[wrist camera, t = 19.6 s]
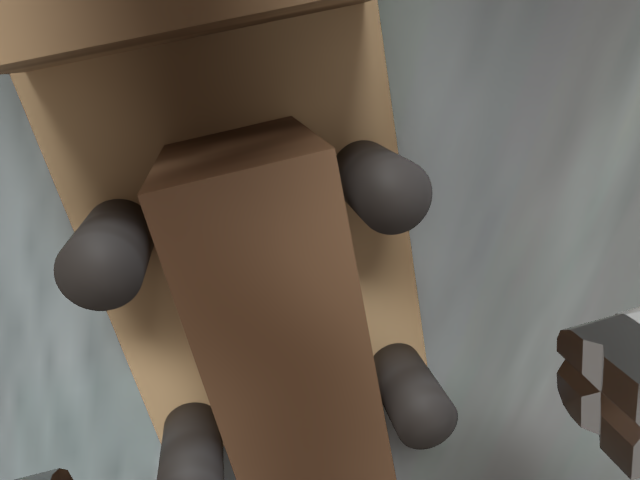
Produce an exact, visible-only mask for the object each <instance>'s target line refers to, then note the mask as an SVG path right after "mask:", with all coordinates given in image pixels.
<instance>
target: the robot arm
mask: <svg viewBox="0 0 640 480" xmlns="http://www.w3.org/2000/svg"><path fill="white" fill-rule="evenodd" d="M557 352H558V353H559V354H560V355H561V356H562V357H563V358H564V359H565V361H564V362H563V364H562V365H561V367H560V368H559V370H558V372H557V386H558V391H559V394H560V397H561V400H562V402H563V405H564V406H565V408H566V410H567V411H568V413H569V414H570V416H571V417H572V418H573V419H574V420H575V421H576V423H577V424H578V425H579V426H580V427H581V428H584V429H586V430H589V431H591V432H594V433H596V434H599V440H600V448H601V449H602V450H603V451H604V452H605V453H606V454H607V455H608V456H609V457H610V459H611V460H612V461H613V462H614V463H615V464H616V465H617V466H618V467H619V468H620V469H621V470H622V471H623V472H624V473H625V474H626V475H627V476H628V477H629V478H630V479H631V480H633V479H637V478H640V307H637V308H634V309H630V310H627V311H624V312H620V313H617V314H615V315H613V316H609V317H606V318H602V319H599V320H595V321H591V322H588V323H584V324H581V325H577V326H574V327H570V328H567V329H563V330H561V331H560V333H559V335H558V338H557ZM15 480H73V479H72V477H71V475H70V474H69V472H68V470H65V469H60V468H58V469H54V470H50V471H47V472H43V473H39V474H35V475H31V476H27V477H23V478H19V479H15Z"/></svg>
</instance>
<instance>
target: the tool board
mask: <svg viewBox="0 0 640 480" xmlns="http://www.w3.org/2000/svg"><path fill="white" fill-rule="evenodd" d="M0 74H10V76H11V79H12V81H13V84H14V86H15V88H16V91H17V93H18V96H19V98H20V101H21V103H22V106H23V108H24V110H25V113H26V115H27V118H28V120H29V123H30V125H31V128H32V130H33V132H34V135H35V137H36V140H37V142H38V145H39V147H40V149H41V152H42V154H43V157H44V159H45V162H46V164H47V167H48V169H49V171H50V174H51V176H52V179H53V181H54V184H55V186H56V189H57V191H58V193H59V196H60V198H61V201H62V203H63V206H64V208H65V211H66V213H67V215H68V218H69V220H70V223H71V225H72V228H73V230H74V234H73V235H72V236H71V238H70V239H69V240H68V241H67V243H66V244H65V245H64V247H63V248H62V249H61V250H60V252H59V254H58V255H57V258H56V260H55V264H54V277H55V281H56V284H57V286H58V288H59V289H60V291H61V292H62V294H63V295H64V296H65V297H66V298H67V299H69V300H70V301H71V302H73V303H74V304H76V305H78V306H80V307H83V308H85V309H89V310H95V311H107V313H108V316H109V318H110V320H111V323H112V325H113V328H114V330H115V333H116V335H117V338H118V340H119V342H120V345H121V347H122V350H123V352H124V355H125V357H126V360H127V362H128V364H129V367H130V369H131V372H132V374H133V377H134V379H135V382H136V384H137V386H138V389H139V391H140V394H141V396H142V399H143V401H144V404H145V406H146V408H147V411H148V413H149V416H150V418H151V421H152V423H153V426H154V428H155V430H156V433H157V435H158V438H159V440H160V443H161V452H160V460H159V467H158V475H157V480H224V464H223V447H224V443H223V440H222V437H221V434H220V432H219V429H218V426H217V423H216V420H215V417H214V414H213V412H212V409H211V406H210V403H209V400H208V397H207V394H206V391H205V389H204V386H203V383H202V380H201V377H200V374H199V371H198V369H197V366H196V363H195V360H194V357H193V354H192V351H191V348H190V346H189V343H188V340H187V337H186V334H185V331H184V328H183V326H182V323H181V320H180V317H179V314H178V311H177V308H176V305H175V303H174V300H173V297H172V294H171V291H170V288H169V285H168V283H167V280H166V277H165V274H164V271H163V268H162V265H161V262H160V260H159V257H158V254H157V251H156V248H155V245H154V242H153V240H152V237H151V234H150V231H149V228H148V225H147V222H146V220H145V217H144V214H143V211H142V208H141V205H140V202H139V199H138V197H137V195H138V193H139V191H140V189H141V187H142V185H143V183H144V182H145V180H146V178H147V176H148V174H149V172H150V170H151V169H152V167H153V165H154V163H155V161H156V159H157V157H158V156H159V154H160V152H161V150H162V148H163V146H164V145H167V144H171V143H175V142H180V141H184V140H188V139H193V138H197V137H201V136H206V135H210V134H214V133H219V132H223V131H228V130H232V129H236V128H241V127H245V126H249V125H254V124H258V123H262V122H267V121H271V120H275V119H280V118H284V117H288V116H293V117H294V118H295V119H297V120H298V121H299V122H301V123H302V124H303V125H305V126H306V127H307V128H309V129H310V130H311V131H313V132H314V133H315V134H317V135H318V136H319V137H321V138H322V139H323V140H325V141H326V142H328V143H329V144H330V145H332V146H333V147H334V148H335V151H336V157H337V162H338V167H339V173H340V178H341V184H342V189H343V194H344V200H345V205H346V211H347V216H348V221H349V227H350V232H351V238H352V243H353V248H354V254H355V259H356V265H357V270H358V275H359V281H360V286H361V292H362V297H363V302H364V308H365V313H366V319H367V324H368V329H369V335H370V340H371V346H372V351H373V356H374V362H375V367H376V373H377V378H378V383H379V389H380V394H381V400H382V404H383V406H384V408H385V410H386V412H387V414H388V416H389V418H390V420H391V422H392V424H393V426H394V428H395V430H396V432H397V434H398V436H399V438H400V440H401V441H402V443H403V444H405V445H406V446H408V447H410V448H413V449H428V448H432V447H435V446H437V445H439V444H440V443H442V442H443V441H445V440H446V439H447V438H448V437H449V436H450V435H451V434H452V432H453V431H454V429H455V427H456V424H457V420H458V413H457V410H456V407H455V406H454V404H453V403H452V401H451V400H450V399H449V397H448V396H447V394H446V393H445V391H444V390H443V388H442V387H441V386H440V384H439V383H438V381H437V380H436V378H435V377H434V376H433V374H432V373H431V371H430V370H429V368H428V367H427V361H426V353H425V346H424V339H423V331H422V324H421V317H420V309H419V302H418V295H417V287H416V280H415V273H414V265H413V258H412V251H411V243H410V236H409V230H411V229H412V228H414V227H415V226H416V225H418V224H419V223H420V222H421V221H422V219H423V218H424V217H425V215H426V214H427V212H428V210H429V208H430V205H431V201H432V186H431V182H430V179H429V177H428V175H427V174H426V172H425V171H424V170H423V169H422V168H421V167H420V166H419V165H417V164H415V163H414V162H412V161H410V160H408V159H406V158H404V157H402V156H400V155H398V148H397V141H396V133H395V126H394V119H393V111H392V104H391V97H390V89H389V82H388V75H387V67H386V60H385V53H384V45H383V38H382V31H381V23H380V16H379V9H378V1H377V0H0Z"/></svg>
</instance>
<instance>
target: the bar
mask: <svg viewBox="0 0 640 480" xmlns="http://www.w3.org/2000/svg"><path fill="white" fill-rule="evenodd" d="M137 197H138V199H139V202H140V205H141V208H142V211H143V214H144V217H145V220H146V222H147V225H148V228H149V231H150V234H151V237H152V240H153V242H154V245H155V248H156V251H157V254H158V257H159V260H160V262H161V265H162V268H163V271H164V274H165V277H166V280H167V283H168V285H169V288H170V291H171V294H172V297H173V300H174V303H175V305H176V308H177V311H178V314H179V317H180V320H181V323H182V326H183V328H184V331H185V334H186V337H187V340H188V343H189V346H190V348H191V351H192V354H193V357H194V360H195V363H196V366H197V369H198V371H199V374H200V377H201V380H202V383H203V386H204V389H205V391H206V394H207V397H208V400H209V403H210V406H211V409H212V412H213V414H214V417H215V420H216V423H217V426H218V429H219V432H220V434H221V437H222V440H223V443H224V446H225V449H226V452H227V454H228V457H229V460H230V463H231V466H232V469H233V472H234V475H235V477H236V480H396V475H395V470H394V464H393V459H392V453H391V448H390V443H389V437H388V432H387V427H386V421H385V416H384V410H383V405H382V400H381V394H380V389H379V383H378V378H377V373H376V367H375V362H374V356H373V351H372V346H371V340H370V335H369V329H368V324H367V319H366V313H365V308H364V302H363V297H362V292H361V286H360V281H359V275H358V270H357V265H356V259H355V254H354V248H353V243H352V238H351V232H350V227H349V221H348V216H347V211H346V205H345V200H344V194H343V189H342V184H341V178H340V173H339V167H338V162H337V157H336V151H335V148H334V147H333V146H332V145H330V144H329V143H328V142H326V141H325V140H323V139H322V138H321V137H319V136H318V135H317V134H315V133H314V132H313V131H311V130H310V129H309V128H307V127H306V126H305V125H303V124H302V123H301V122H299V121H298V120H297V119H295V118H294V117H293V116H288V117H284V118H280V119H275V120H271V121H267V122H262V123H258V124H254V125H249V126H245V127H241V128H236V129H232V130H228V131H223V132H219V133H214V134H210V135H206V136H201V137H197V138H193V139H188V140H184V141H180V142H175V143H171V144H167V145H164V146H163V148H162V150H161V152H160V154H159V156H158V157H157V159H156V161H155V163H154V165H153V167H152V169H151V170H150V172H149V174H148V176H147V178H146V180H145V182H144V183H143V185H142V187H141V189H140V191H139V193H138V195H137Z"/></svg>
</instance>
